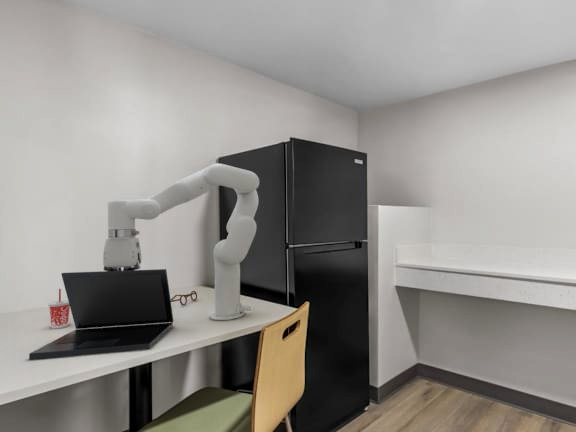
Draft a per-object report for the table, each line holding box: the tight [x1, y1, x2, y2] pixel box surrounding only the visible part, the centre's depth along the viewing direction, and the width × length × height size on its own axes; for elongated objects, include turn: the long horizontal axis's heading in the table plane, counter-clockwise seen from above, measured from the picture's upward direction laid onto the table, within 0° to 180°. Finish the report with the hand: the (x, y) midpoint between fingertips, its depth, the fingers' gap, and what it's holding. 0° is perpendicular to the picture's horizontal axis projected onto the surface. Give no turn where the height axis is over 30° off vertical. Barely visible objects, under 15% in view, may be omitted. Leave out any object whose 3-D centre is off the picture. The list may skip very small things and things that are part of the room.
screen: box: [61, 268, 174, 330], centre depth 120 cm, size 22×30×1 cm
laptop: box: [28, 322, 174, 361], centre depth 112 cm, size 22×30×2 cm
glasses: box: [170, 290, 198, 306], centre depth 162 cm, size 13×13×5 cm
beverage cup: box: [48, 288, 70, 330], centre depth 128 cm, size 6×6×14 cm
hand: (122, 286), depth 120 cm, fingers closed
